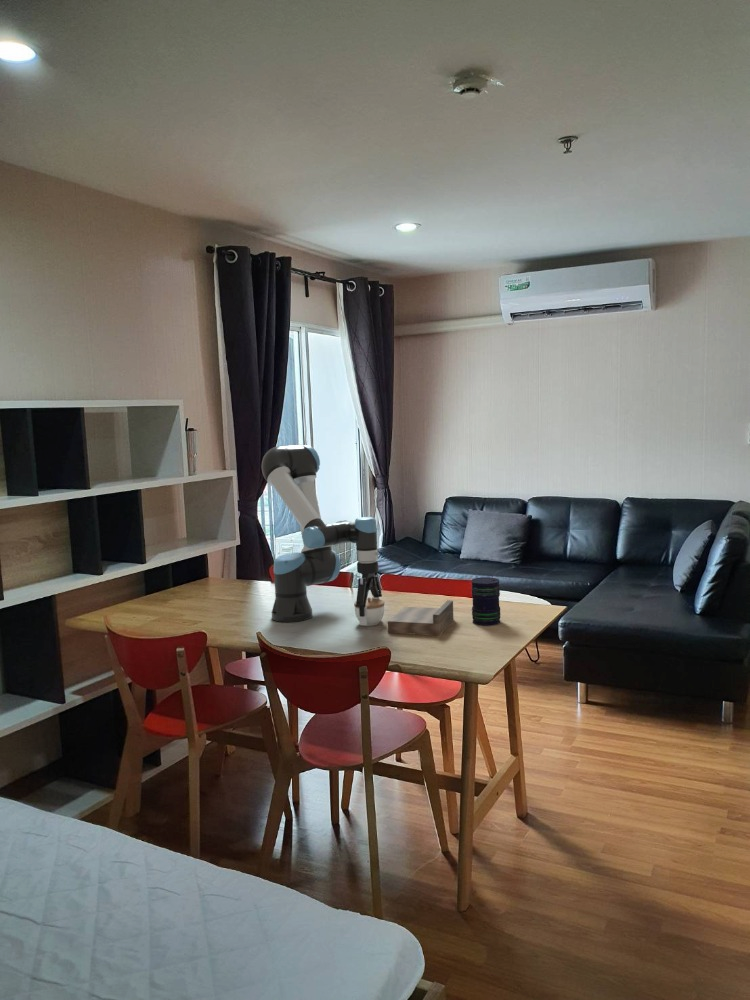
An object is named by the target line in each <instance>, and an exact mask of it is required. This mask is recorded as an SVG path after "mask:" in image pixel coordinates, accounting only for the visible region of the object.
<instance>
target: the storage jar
mask: <svg viewBox="0 0 750 1000" xmlns="http://www.w3.org/2000/svg"><path fill="white" fill-rule="evenodd" d="M470 582H471V584H470V585H471V591H470V592H471V597H472V607H471V616H472V624H473V625H476V626H480V627H481V626H482V627H492V626H493V627H494V626H496V625H500V624H501V619H500V618H501V606H500V595H501V589H500V588H501V587H500V579H499V578H495V577H488V576H487V577H476V578H472V579H471V581H470Z"/></svg>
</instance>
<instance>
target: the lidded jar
mask: <svg viewBox="0 0 750 1000" xmlns="http://www.w3.org/2000/svg"><path fill="white" fill-rule="evenodd" d="M365 607H367V626H366V625H364V626H366V627H371V626H372V627H373V626H377V625H379V624H380V622H381V621H382V620H383V617H384V616H385V615H384V614H385V601H384V600H383V599H380V598H379V599H372V597H367V601H366V606H365ZM354 612H355V613H354V614H355V617H356V619H357V620H358V621H359V607H356V601H354Z"/></svg>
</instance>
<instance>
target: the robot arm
mask: <svg viewBox="0 0 750 1000" xmlns="http://www.w3.org/2000/svg"><path fill="white" fill-rule="evenodd" d="M320 466H321V460H320V456H319V454H318V452H317V450H316V448H314V447H312V445H308V444H307V445H306V444H304V445H303V444H296V445H294V444H293V445H283V446H282V445H281V446H279V445H278V446H274V447H272V448H270V449H268V450H267V452H265V454H264V456H263V457H262V461H261V472H262V475H263V478H264V479H265V481H266V483H267V484H268V485H269V486H271V487H273V488H274V489H275V491H276V493H277V494H278V495H279V497H280V499H281V500H282V501H283V503H284V504H285V505H286V507H287V508H288V510H289V511H290V513H291V514H292V516H293V517H294V519H295V520H296V522H297V523H298V524H299V529H300V533H301V539H302V544H303V548H302V549H301V551H300V552H291V553H290V552H289V553H285V554H282V555H280V556H277V557H276V558H275V559H274V561H273V570H272V571H273V576H274V577H273V578H274V595H275V596H274V597H275V598H274V602H273V606H272V610H271V619H272V620H273V621H275V622H278V623H279V622H280V623H281V622H282V623H292V622H301V621H307V620H309V619H311V618H312V617H313V608H312V606H311V602H310V601H309V598H308V594H307V592H308V590H307V587H311V586H314V585H315V586H316V585H319V584H325V583H329V582H332V581H334V580H335V579H337V577H338V576H339V574H340V571H341V566H342V565H341V563H342V562H341V559H340V556H339V554H338V552H336V551H334V550H332V546H334V545H341V544H345V543H351V544H355V549H356V550H355V551H356V554H355V555H356V556H355V557H356V561H357V563H356V570H357V571H356V572H357V573H359V574H360V575H361V578H360V577H359V578H358V579H357V582H358V583H357V584H358V585H357V590H356V591H357V594H356V601H355V602H356V607H359V620H358V623H359V626H365V625H366V627H368V626H367V607H365V606H366V601H367V599H368V595H369V591H370V593H371V595H372V597H371V599H380V598H382V597H383V594H382V588H381V584H380V581H379V576H378V575H379V574H378V573H379V561H378V560H379V558H378V555H379V554H380V552H379V551H378V527H377V519H376V518H375V517H371V516H363V517H362V516H361V517H357V518H355V519H354V521H349V520H337V521H336V522H334V523H328V524H325V523H324V521H323V520H322V516H321V511H320V507H319V502H318V497H317V493H316V486H315V480H316V478H317V473H318V472H319V470H320Z"/></svg>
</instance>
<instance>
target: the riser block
mask: <svg viewBox="0 0 750 1000" xmlns="http://www.w3.org/2000/svg"><path fill="white" fill-rule="evenodd" d="M454 620H455V619H454V600H446V601H445V602H444V603H443V604H442V605H441V606H440V607H438V608H437V607H423V606H421V607H417V606H404V607H403V608H401V609H400V610H399V611H398V612H397V613H396V614H395V615H393V616H391V618H390V619H388V620H387V633H388V632H389V633H391V634H403V633H415V634H414V635H421V634H427V635H426V636H439V635H440V636H441V635H442V633H444V631H445V630H446V629H447V628H448V627H449V625H450V624H451V623H453V622H454ZM428 634H429V635H428Z"/></svg>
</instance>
